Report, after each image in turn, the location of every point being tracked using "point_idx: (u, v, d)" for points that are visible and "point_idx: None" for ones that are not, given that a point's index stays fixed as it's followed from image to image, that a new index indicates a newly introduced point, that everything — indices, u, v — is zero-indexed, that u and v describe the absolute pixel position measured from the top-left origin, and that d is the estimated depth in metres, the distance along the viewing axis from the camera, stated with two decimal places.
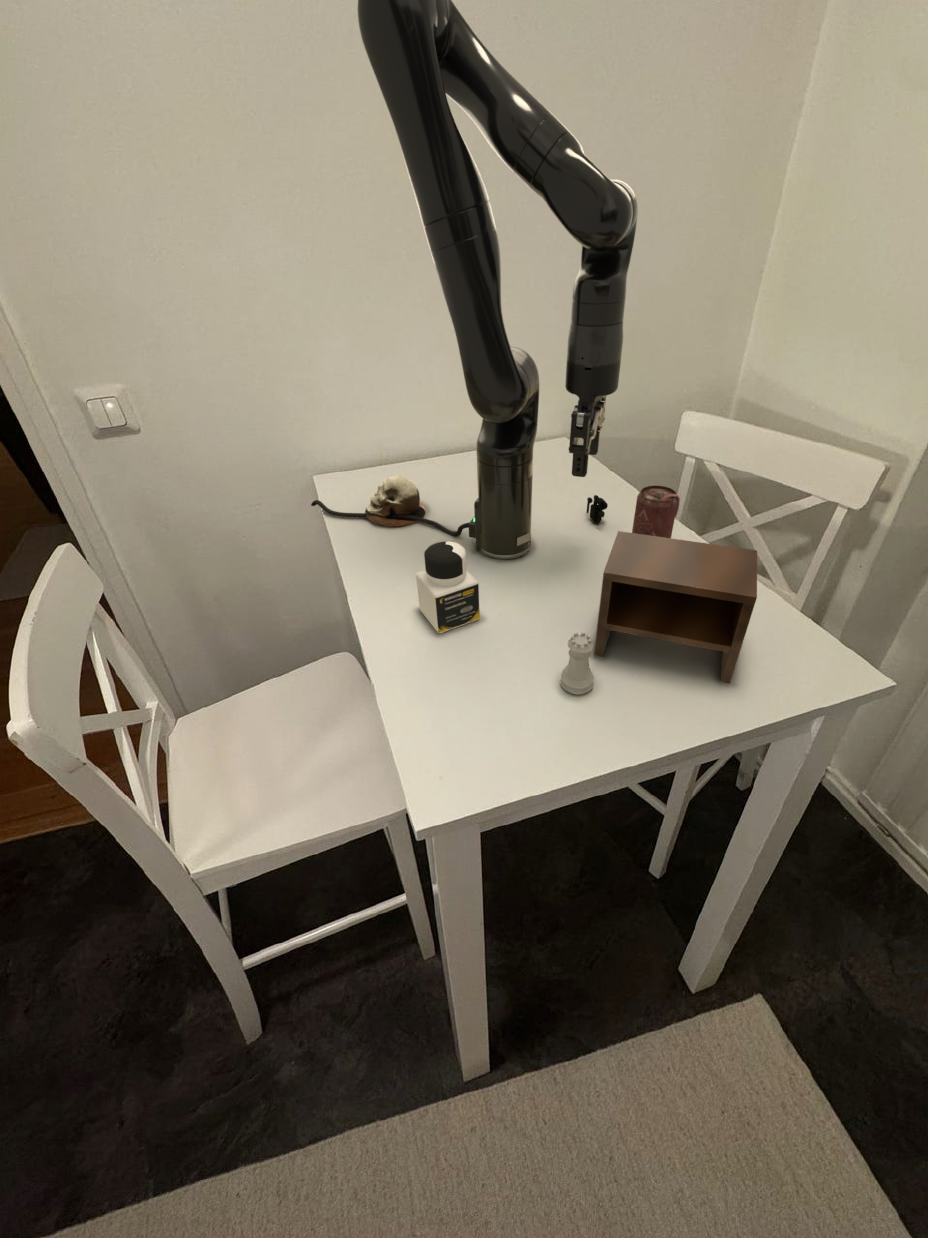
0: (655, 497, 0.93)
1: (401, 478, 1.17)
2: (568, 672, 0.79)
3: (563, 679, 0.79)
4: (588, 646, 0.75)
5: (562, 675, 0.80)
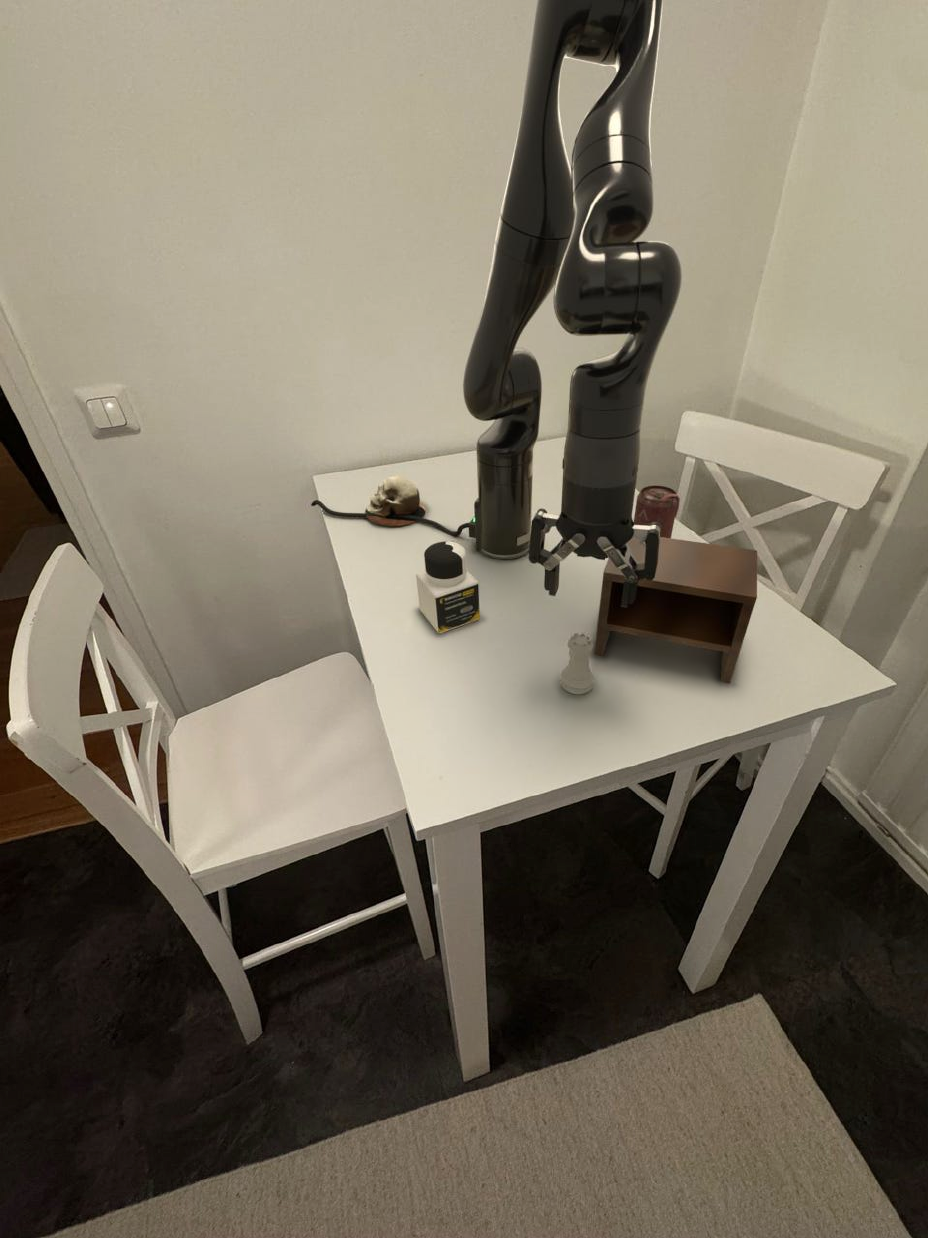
0: (655, 497, 0.93)
1: (401, 478, 1.17)
2: (568, 672, 0.79)
3: (563, 679, 0.79)
4: (588, 646, 0.75)
5: (562, 675, 0.80)
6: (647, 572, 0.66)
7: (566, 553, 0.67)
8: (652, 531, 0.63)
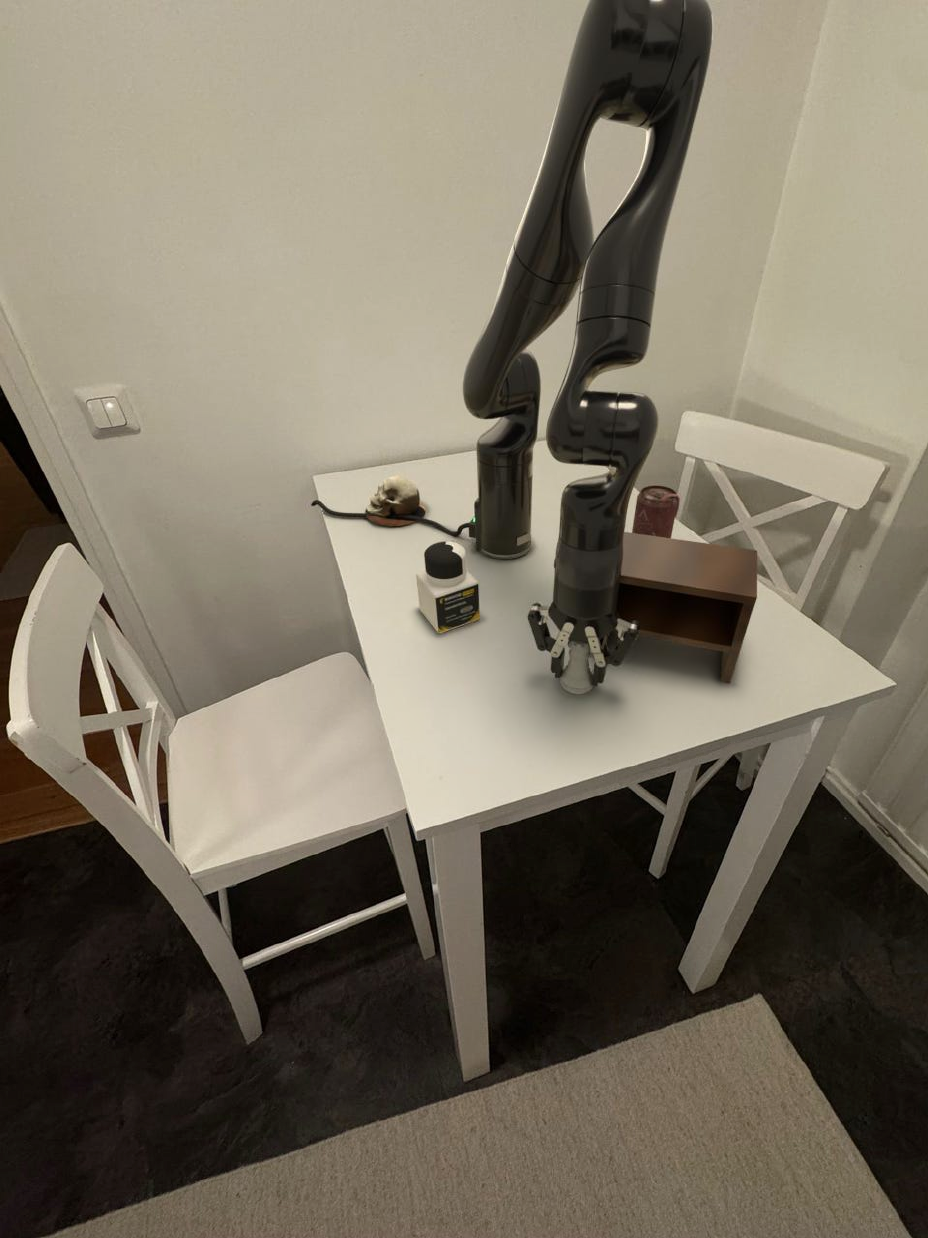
0: (655, 497, 0.93)
1: (401, 478, 1.17)
2: (568, 672, 0.79)
3: (563, 679, 0.79)
4: (588, 646, 0.75)
5: (562, 675, 0.80)
6: (613, 659, 0.74)
7: (564, 640, 0.75)
8: (633, 631, 0.71)
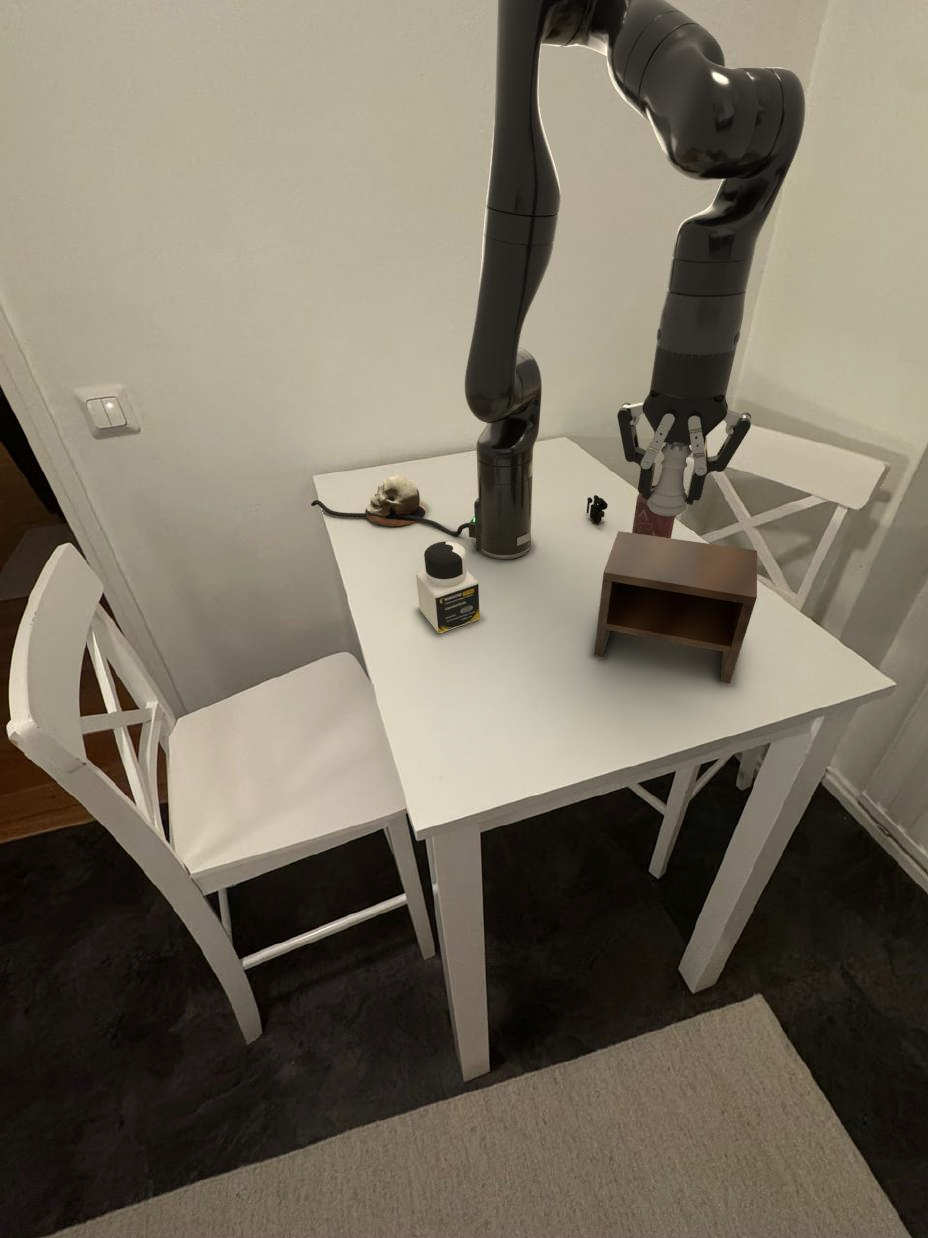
0: None
1: (401, 478, 1.17)
2: (659, 488, 0.69)
3: (652, 498, 0.69)
4: (687, 450, 0.65)
5: (651, 495, 0.70)
6: (718, 463, 0.64)
7: (660, 441, 0.65)
8: (746, 420, 0.61)
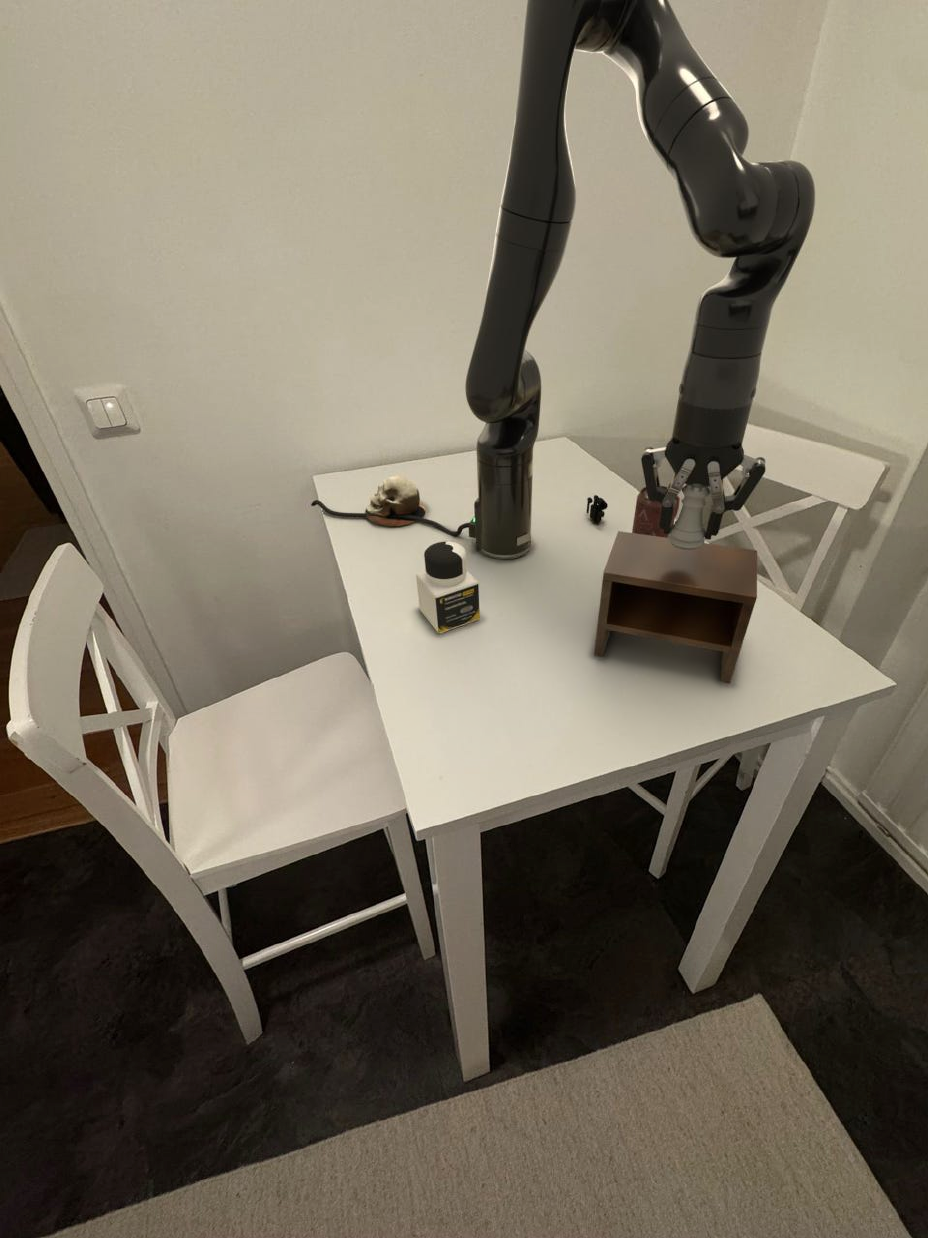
0: None
1: (401, 478, 1.17)
2: (679, 524, 0.74)
3: (673, 534, 0.75)
4: (706, 490, 0.71)
5: (671, 530, 0.75)
6: (735, 502, 0.70)
7: (681, 483, 0.70)
8: (761, 465, 0.66)
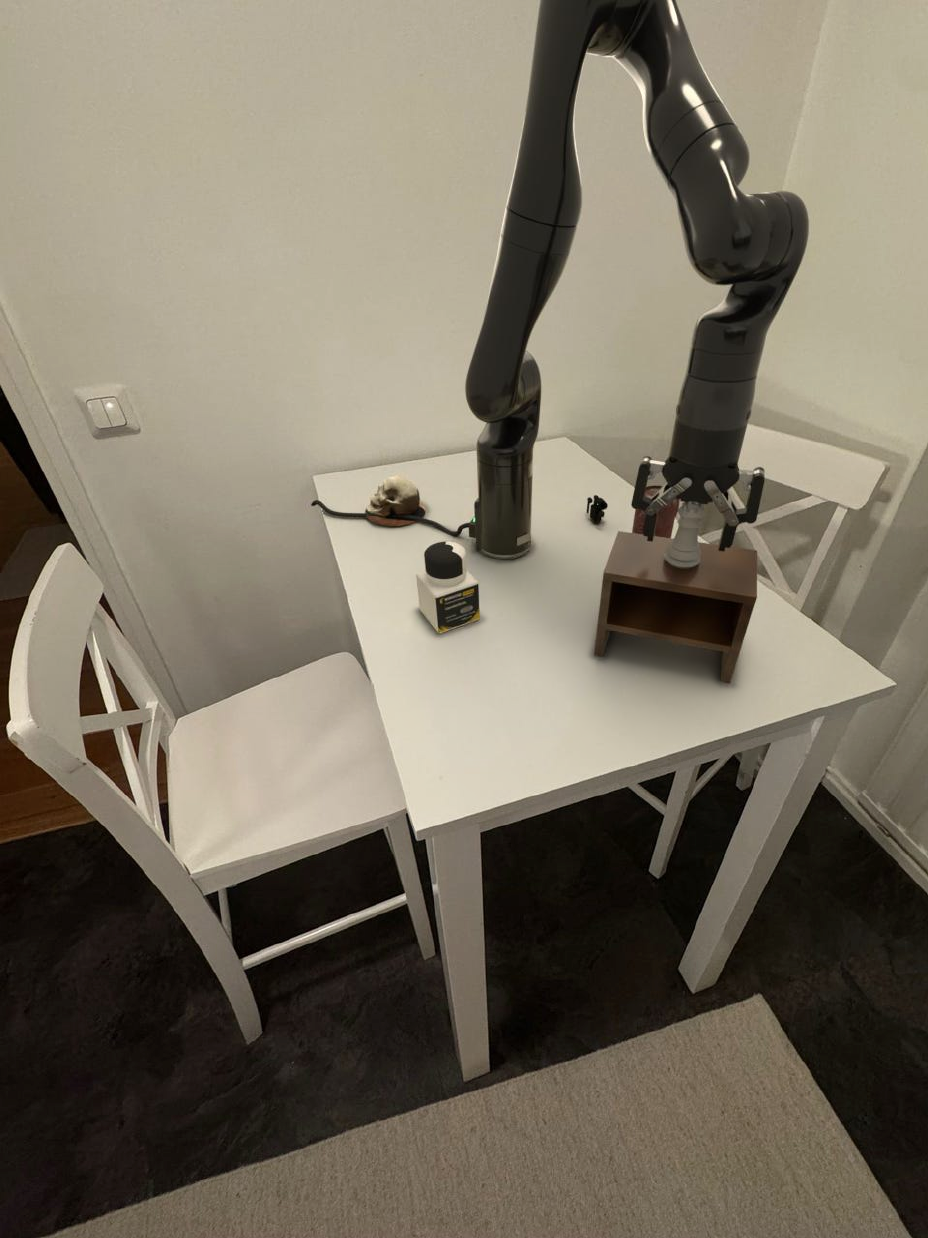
0: None
1: (401, 478, 1.17)
2: (675, 544, 0.76)
3: (669, 553, 0.76)
4: (701, 512, 0.72)
5: (668, 549, 0.77)
6: (749, 515, 0.70)
7: (671, 497, 0.72)
8: (759, 475, 0.67)
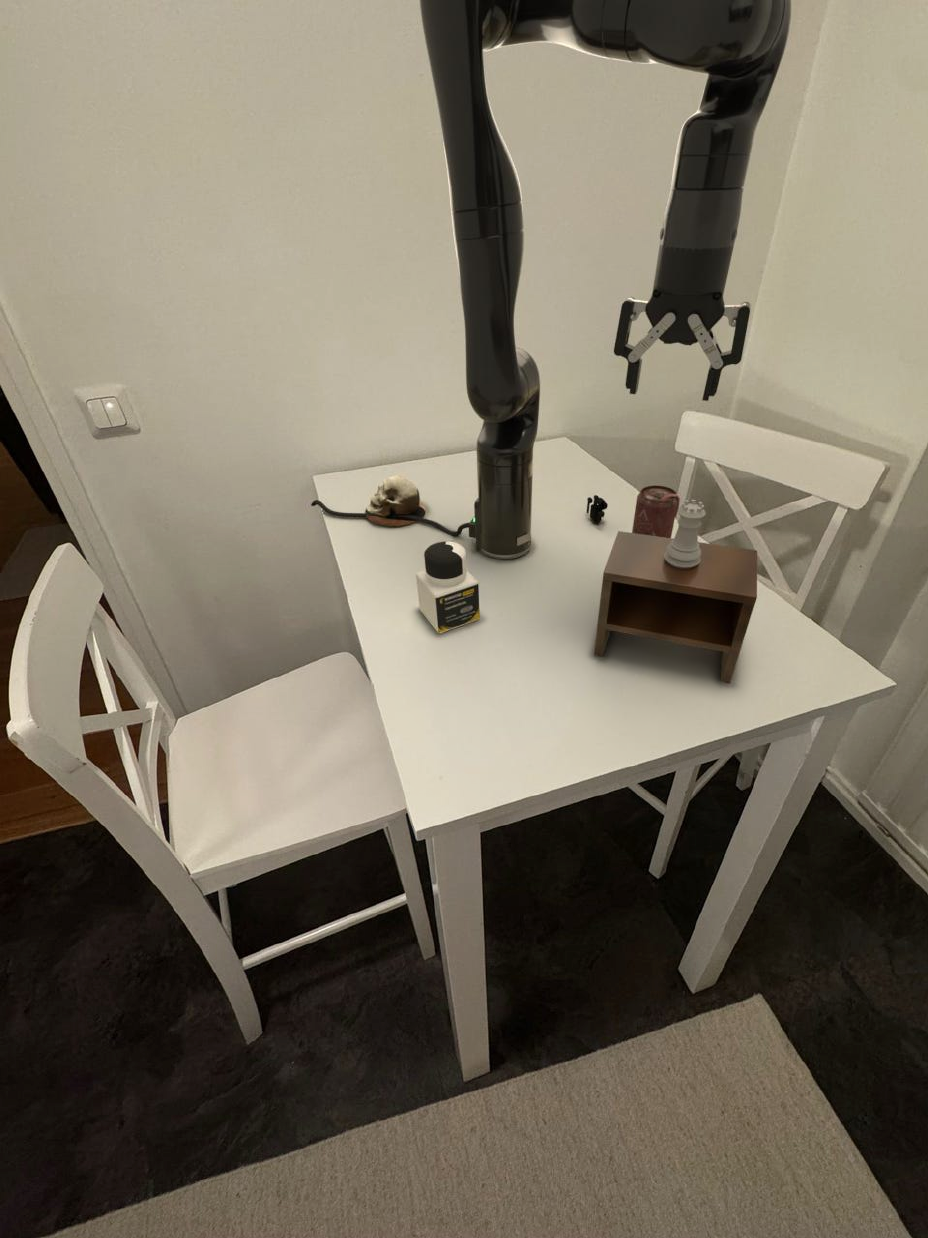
0: (655, 497, 0.93)
1: (401, 478, 1.17)
2: (675, 544, 0.76)
3: (669, 553, 0.76)
4: (701, 512, 0.72)
5: (668, 549, 0.77)
6: (734, 355, 0.68)
7: (654, 338, 0.69)
8: (744, 305, 0.65)
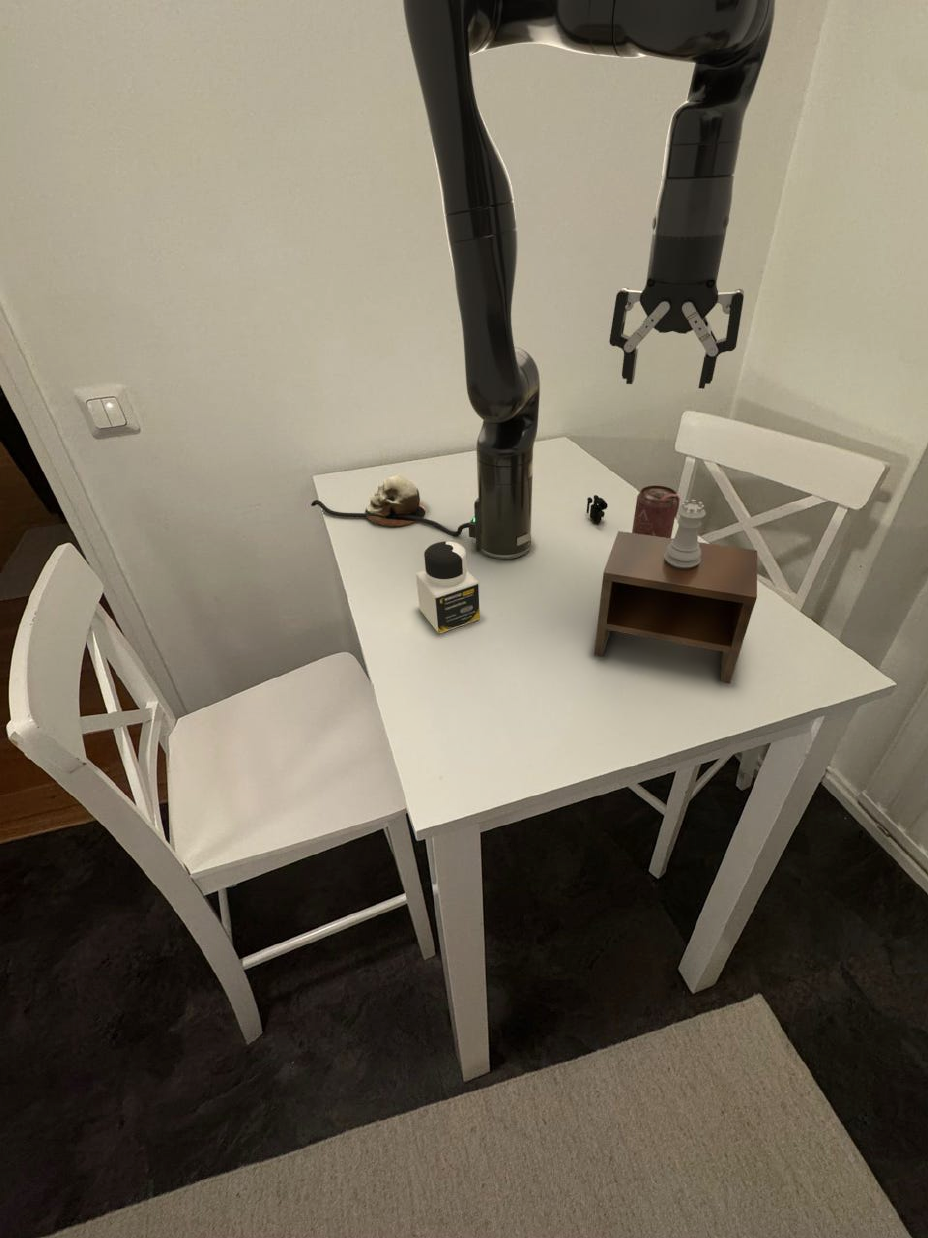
0: (655, 497, 0.93)
1: (401, 478, 1.17)
2: (675, 544, 0.76)
3: (669, 553, 0.76)
4: (701, 512, 0.72)
5: (668, 549, 0.77)
6: (729, 341, 0.68)
7: (649, 327, 0.70)
8: (737, 292, 0.65)
